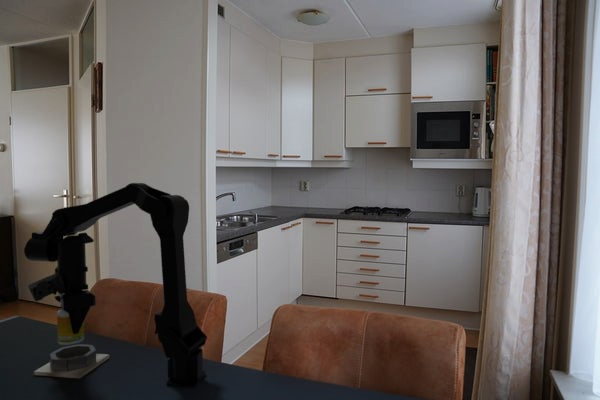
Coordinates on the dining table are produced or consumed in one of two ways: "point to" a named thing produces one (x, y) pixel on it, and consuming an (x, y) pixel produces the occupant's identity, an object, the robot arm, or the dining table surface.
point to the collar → (72, 361)
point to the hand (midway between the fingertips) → (73, 329)
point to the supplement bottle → (67, 329)
